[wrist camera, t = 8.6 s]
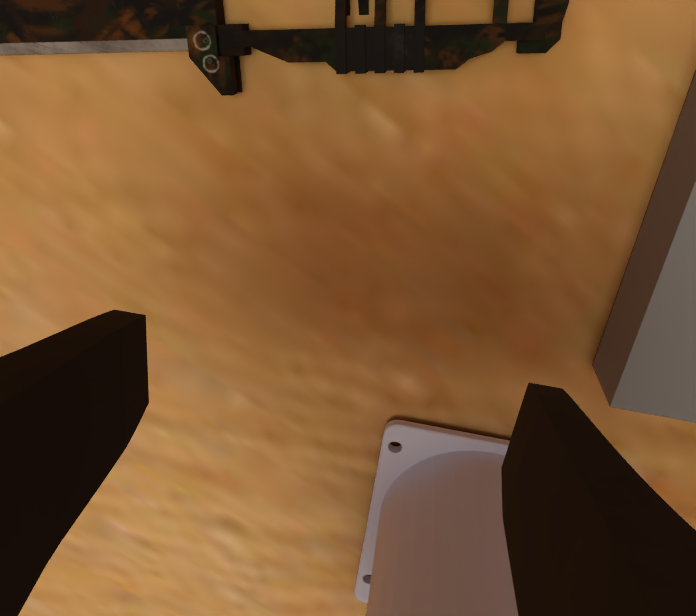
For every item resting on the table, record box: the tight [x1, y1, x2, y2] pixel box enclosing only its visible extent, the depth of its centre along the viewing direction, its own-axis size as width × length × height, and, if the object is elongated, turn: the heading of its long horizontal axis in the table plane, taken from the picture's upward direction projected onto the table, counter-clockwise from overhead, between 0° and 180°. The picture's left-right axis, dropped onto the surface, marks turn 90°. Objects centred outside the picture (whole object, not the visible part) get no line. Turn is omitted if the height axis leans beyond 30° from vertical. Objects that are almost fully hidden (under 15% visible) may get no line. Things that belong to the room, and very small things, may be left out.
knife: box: [0, 0, 569, 95], centre depth 18 cm, size 25×6×1 cm, turn 86°
